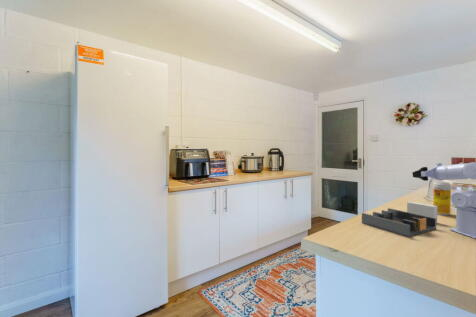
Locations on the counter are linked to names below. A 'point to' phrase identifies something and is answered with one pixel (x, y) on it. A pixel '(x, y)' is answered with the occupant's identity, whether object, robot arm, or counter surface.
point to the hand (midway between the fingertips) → (421, 174)
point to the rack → (400, 222)
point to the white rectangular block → (422, 209)
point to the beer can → (442, 197)
